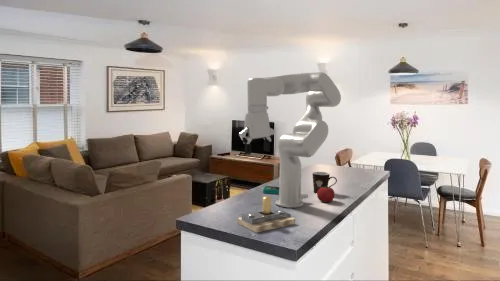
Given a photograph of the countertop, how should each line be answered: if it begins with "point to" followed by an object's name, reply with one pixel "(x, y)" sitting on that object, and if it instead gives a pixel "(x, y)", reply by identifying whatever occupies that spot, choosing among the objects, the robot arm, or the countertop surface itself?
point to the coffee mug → (321, 180)
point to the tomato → (325, 194)
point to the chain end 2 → (282, 215)
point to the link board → (267, 224)
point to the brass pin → (266, 205)
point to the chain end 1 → (258, 217)
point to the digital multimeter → (271, 190)
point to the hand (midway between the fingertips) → (257, 152)
